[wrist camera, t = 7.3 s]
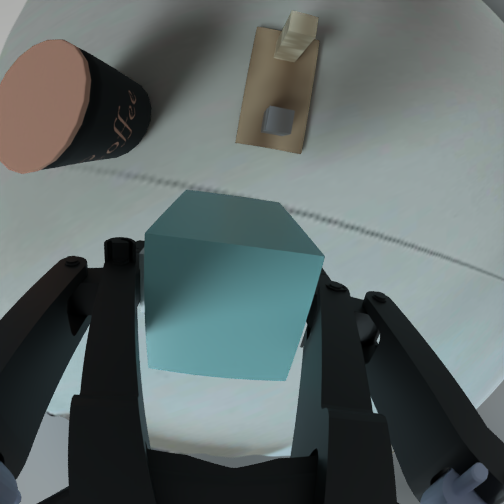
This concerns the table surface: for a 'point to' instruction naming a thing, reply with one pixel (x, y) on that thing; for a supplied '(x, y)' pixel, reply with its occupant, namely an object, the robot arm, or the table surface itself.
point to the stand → (280, 85)
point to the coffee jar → (67, 109)
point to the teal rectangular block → (227, 287)
